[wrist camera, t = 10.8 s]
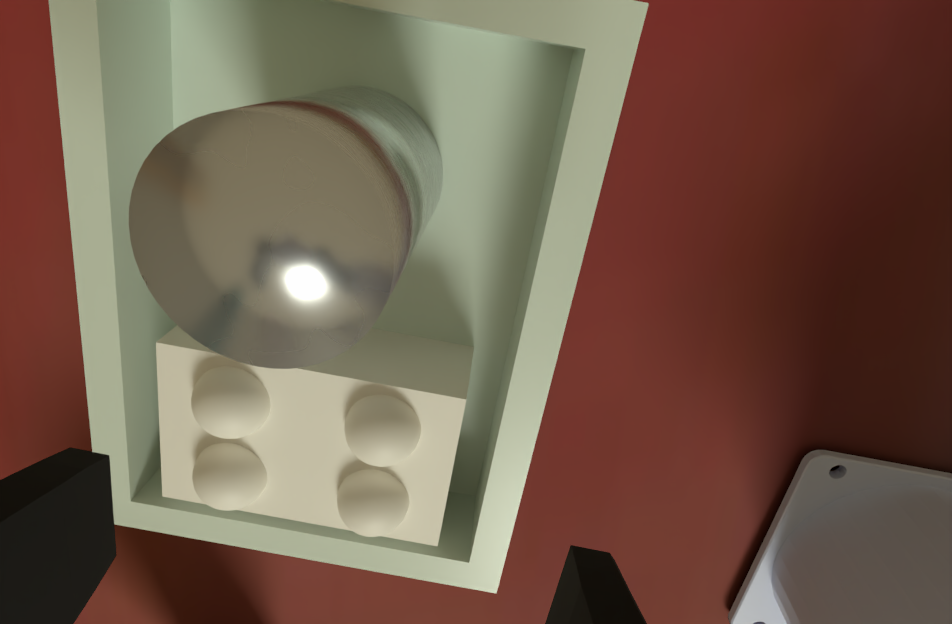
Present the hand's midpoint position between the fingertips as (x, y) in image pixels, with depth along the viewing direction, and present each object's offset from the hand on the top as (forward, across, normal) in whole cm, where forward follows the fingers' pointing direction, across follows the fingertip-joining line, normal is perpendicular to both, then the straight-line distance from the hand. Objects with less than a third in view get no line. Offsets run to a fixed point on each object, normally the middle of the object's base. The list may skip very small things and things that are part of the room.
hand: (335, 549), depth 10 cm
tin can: (+9, +2, -4) cm, 10 cm away
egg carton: (+9, +2, +3) cm, 10 cm away
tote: (+10, +2, -1) cm, 10 cm away
